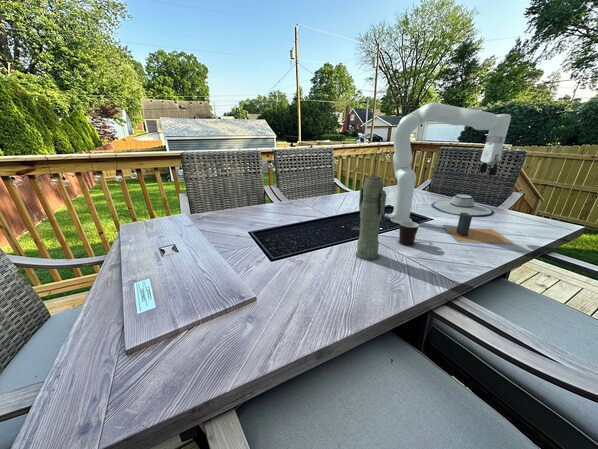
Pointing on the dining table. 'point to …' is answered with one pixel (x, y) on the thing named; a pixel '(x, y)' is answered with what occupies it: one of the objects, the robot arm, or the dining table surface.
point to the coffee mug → (407, 232)
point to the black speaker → (464, 224)
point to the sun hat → (462, 206)
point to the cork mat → (479, 235)
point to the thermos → (370, 216)
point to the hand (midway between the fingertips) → (486, 173)
